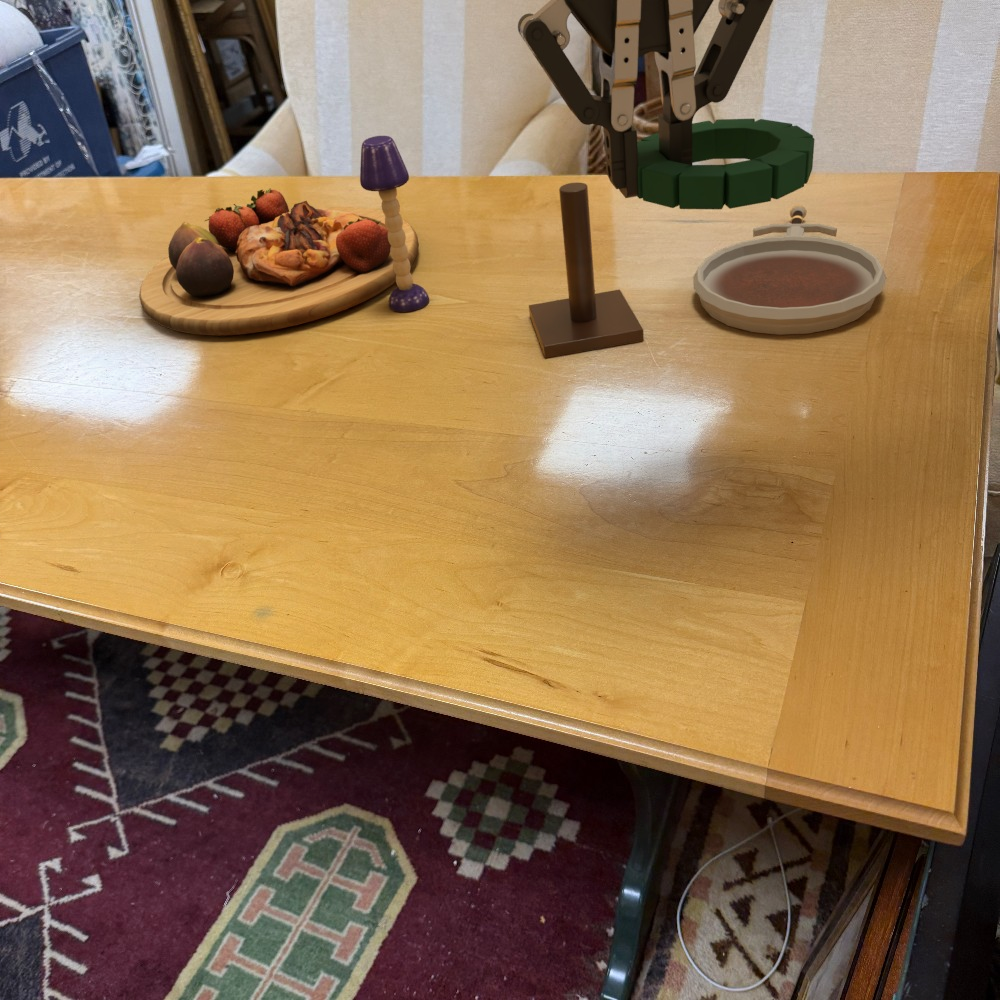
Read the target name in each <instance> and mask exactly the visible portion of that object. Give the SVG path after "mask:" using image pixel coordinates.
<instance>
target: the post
mask: <svg viewBox="0 0 1000 1000" xmlns="http://www.w3.org/2000/svg"><path fill="white" fill-rule="evenodd" d="M588 189H589V188H588V184H587V183H584V182H569V183H565V184H562V185H561V186H560V187H559V189H558V191H559V201H560V213H561V224H562V225H561V226H562V235H563V236H562V238H563V246H564V247H563V248H564V249H563V250H564V259H565V269H566V280H567V281H566V283H567V293H568V298H563V299H557V300H551V301H546V302H545V301H544V302H539V303H533V304H529V305H528V311H529V312H528V313H529V317H530V320H531V323H532V326H533V329H534V331H535V334H536V337H537V340H538V342H539V343H538V344H539V345H540V348H541V350H542V354H543V356H544V358H545V359H548V358H553V357H560V356H565V355H571V354H577V353H583V352H589V351H593V350H601V349H605V348H611V347H617V346H623V345H627V344H628V345H629V344H635V343H639V342H644V340H645V339H644V338H645V337H644V328H643V326H642V325H641V323H640V321H639V319H638V318H637V316H636V315H635V313H634V311H633V310H632V308H631V306H630V304H629V302H628V301H627V300H626V297H625V296H624V294H623V292H622V290H621V289H613V290H608V291H603V292H596V287H595V274H594V258H593V245H592V230H591V229H592V228H591V216H590V201H589V190H588Z"/></svg>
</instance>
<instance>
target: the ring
mask: <svg viewBox="0 0 1000 1000" xmlns="http://www.w3.org/2000/svg"><path fill="white" fill-rule="evenodd" d="M637 149H638V167H637V171H638V196H636V197H637V199H640V200H641V199H642V200H643V202H646V203H650V204H651V203H652V204H655V205H659V206H662V207H667V208H671V209H675V208H677V207H679V209H680V210H723V208H724V206H726V207H727V208H728V209H730V210H731V209H735V208H741V207H742V208H743V207H747V206H753V205H758V204H763V203H764V204H765V203H768V202H772V199H773V200H780V199H781V198H783V197H786V196H787V195H789V194H791V193H794V192H796V191H798V190H800V189H802V188H805V185H807V184H808V182H809V179H810V177H811V173H812V172H813V164H814V153H815V152H814V151H815V138H814V135H813V134H811V133H810V132H808V131H807V130H805V129H803V128H802V127H800V126H798V125H793V123H789V122H782V121H776V120H769V119H763V118H760V119H757V120H756V119H755V118H725V119H724V118H723V119H721V118H720V119H715V121H714V122H712V121H711V120H704V121H699V122H692V165H688V164H683V163H679V162H674V161H669V160H667V159H666V158H665V157H664V156H663V155H662V154H661V153H660V150H659V131H658V132H655V133H653V134H650V135H648V136H646V137H642V138H641V140H637ZM737 159H739V160H742V159H743V160H742V161H737V162H731V163H726V164H694V163H699V162H704V161H710V160H737ZM744 159H745V160H744Z"/></svg>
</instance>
